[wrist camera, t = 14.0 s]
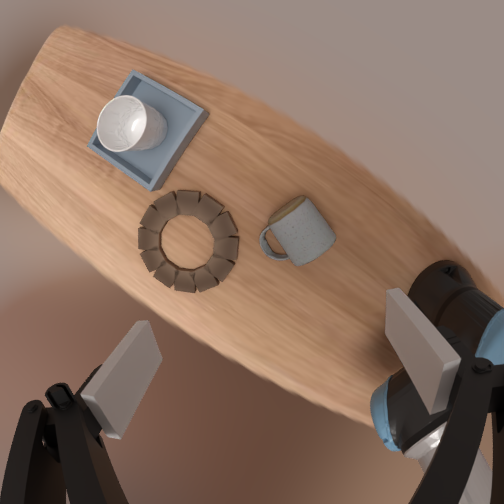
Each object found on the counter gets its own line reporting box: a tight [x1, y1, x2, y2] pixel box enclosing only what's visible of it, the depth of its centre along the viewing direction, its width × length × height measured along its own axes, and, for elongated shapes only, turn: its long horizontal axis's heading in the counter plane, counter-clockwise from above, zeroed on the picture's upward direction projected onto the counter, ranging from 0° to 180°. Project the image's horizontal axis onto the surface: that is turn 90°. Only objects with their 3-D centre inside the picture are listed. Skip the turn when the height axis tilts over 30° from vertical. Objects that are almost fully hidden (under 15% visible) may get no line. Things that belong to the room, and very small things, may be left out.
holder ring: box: [138, 190, 239, 293], centre depth 48 cm, size 17×17×1 cm
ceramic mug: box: [260, 196, 336, 266], centre depth 43 cm, size 11×8×8 cm
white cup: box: [97, 95, 168, 152], centre depth 38 cm, size 8×8×10 cm
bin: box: [87, 70, 209, 192], centre depth 42 cm, size 15×15×4 cm
